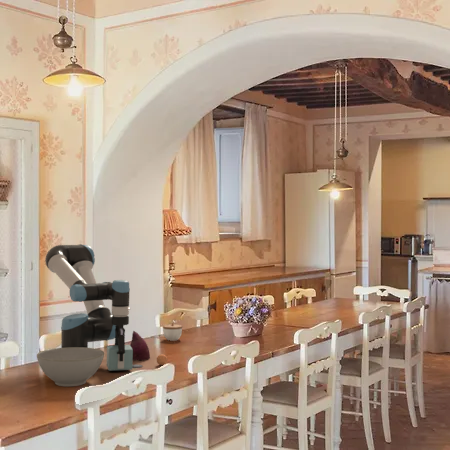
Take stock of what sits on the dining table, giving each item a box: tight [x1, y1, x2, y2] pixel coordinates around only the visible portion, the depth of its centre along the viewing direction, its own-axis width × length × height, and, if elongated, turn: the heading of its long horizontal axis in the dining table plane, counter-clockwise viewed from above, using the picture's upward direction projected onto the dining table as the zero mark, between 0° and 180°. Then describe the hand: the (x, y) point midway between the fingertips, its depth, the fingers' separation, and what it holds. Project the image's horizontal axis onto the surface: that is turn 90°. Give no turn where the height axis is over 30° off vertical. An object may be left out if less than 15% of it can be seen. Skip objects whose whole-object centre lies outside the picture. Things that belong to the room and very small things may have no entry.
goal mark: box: [132, 364, 143, 369], centre depth 312 cm, size 6×6×1 cm
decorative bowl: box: [36, 347, 105, 387], centre depth 280 cm, size 27×27×12 cm
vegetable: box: [129, 330, 151, 361], centre depth 330 cm, size 10×10×15 cm
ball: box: [156, 353, 168, 366], centre depth 315 cm, size 5×5×5 cm
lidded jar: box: [162, 322, 183, 342], centre depth 381 cm, size 11×11×9 cm
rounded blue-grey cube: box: [106, 344, 134, 371], centre depth 304 cm, size 10×10×9 cm
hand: (119, 365), depth 304 cm, fingers closed on rounded blue-grey cube, 10 cm apart
